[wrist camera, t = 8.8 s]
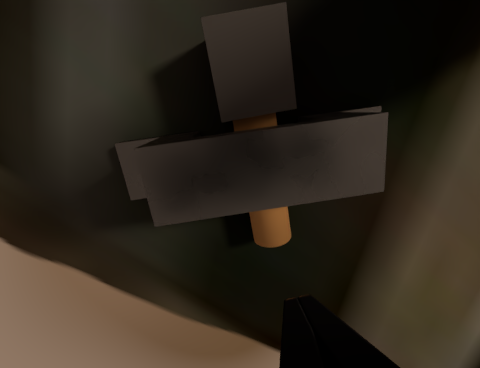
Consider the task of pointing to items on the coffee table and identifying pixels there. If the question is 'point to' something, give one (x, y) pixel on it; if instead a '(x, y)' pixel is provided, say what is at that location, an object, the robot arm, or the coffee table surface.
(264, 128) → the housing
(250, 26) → the plug
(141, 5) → the coffee table surface
